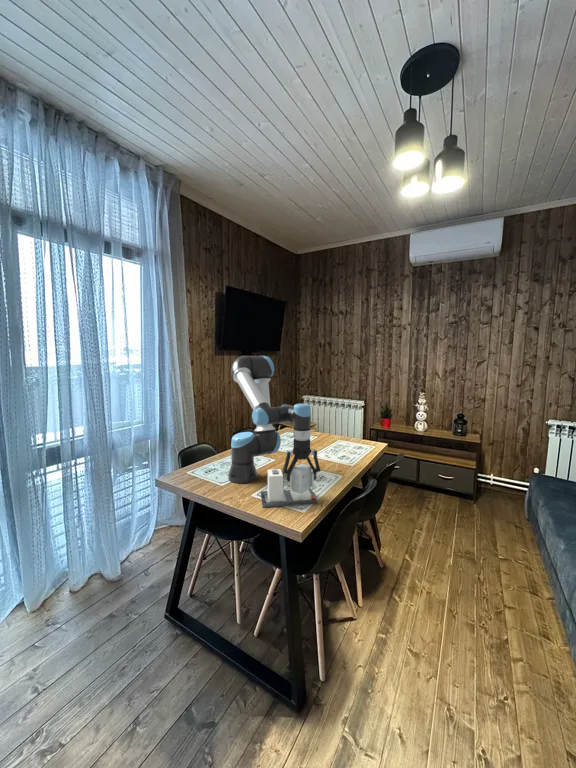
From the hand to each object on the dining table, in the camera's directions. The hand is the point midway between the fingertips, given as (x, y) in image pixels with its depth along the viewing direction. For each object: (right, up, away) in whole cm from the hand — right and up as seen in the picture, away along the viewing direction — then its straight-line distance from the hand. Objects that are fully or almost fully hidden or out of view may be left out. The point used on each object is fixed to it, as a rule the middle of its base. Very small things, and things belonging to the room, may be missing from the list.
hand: (301, 487), depth 139 cm
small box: (0, -1, 0) cm, 1 cm away
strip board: (-6, -5, 0) cm, 8 cm away
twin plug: (-12, -4, -1) cm, 13 cm away
